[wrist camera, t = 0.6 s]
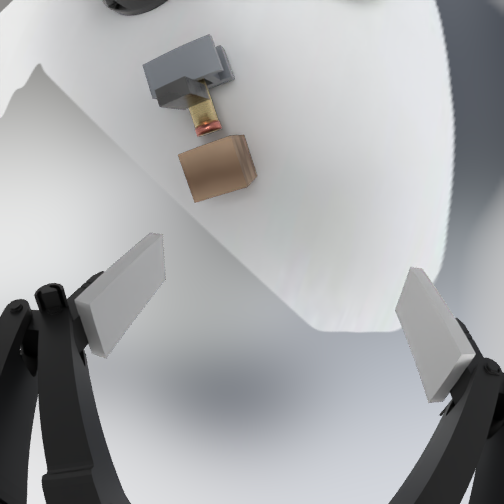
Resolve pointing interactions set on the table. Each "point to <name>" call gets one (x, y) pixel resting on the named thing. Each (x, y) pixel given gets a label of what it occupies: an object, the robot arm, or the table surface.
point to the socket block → (218, 167)
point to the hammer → (191, 103)
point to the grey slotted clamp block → (190, 65)
